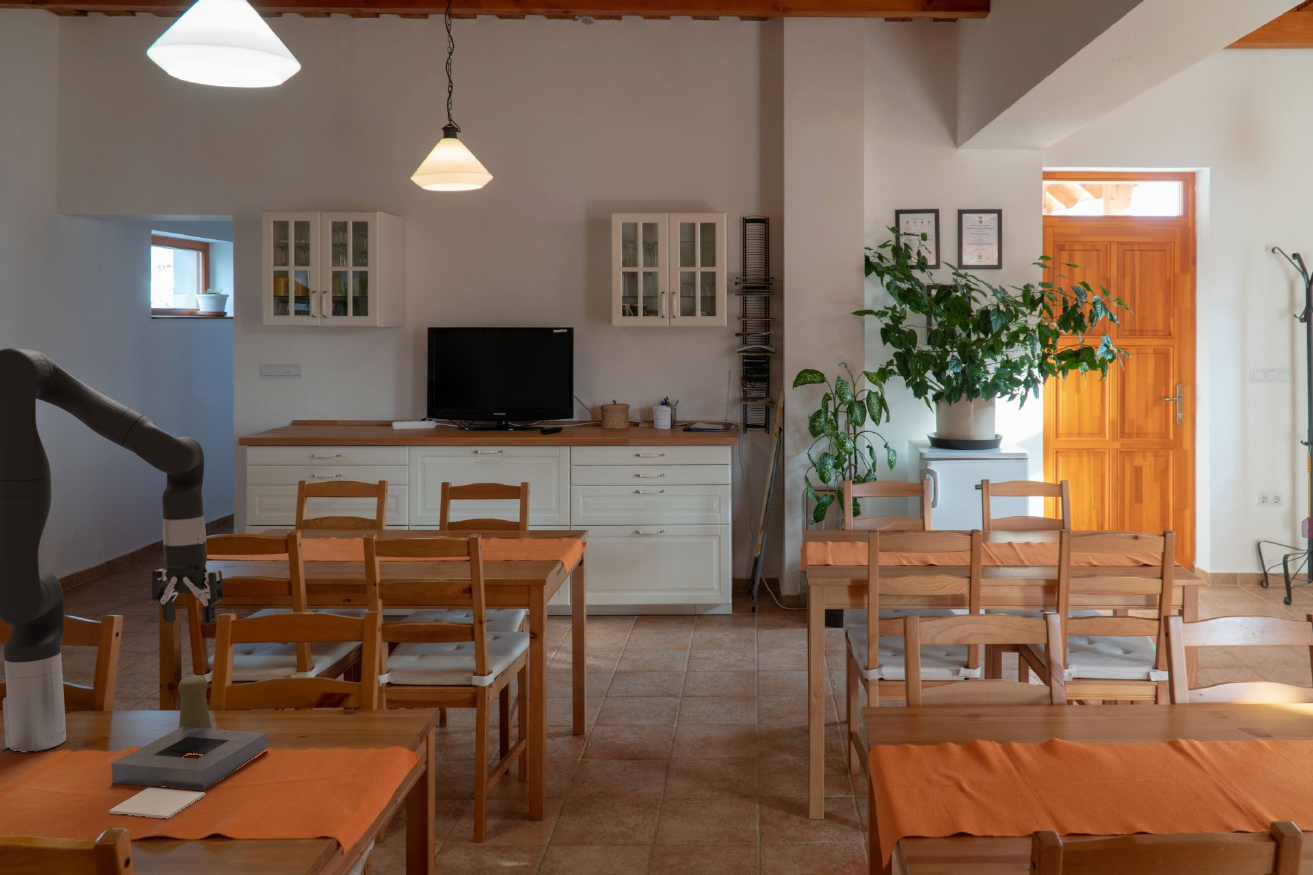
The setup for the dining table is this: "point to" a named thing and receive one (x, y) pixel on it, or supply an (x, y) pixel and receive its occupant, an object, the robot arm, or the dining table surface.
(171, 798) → the pad
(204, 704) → the cork
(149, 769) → the frame
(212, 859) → the dining table surface
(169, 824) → the dining table surface
